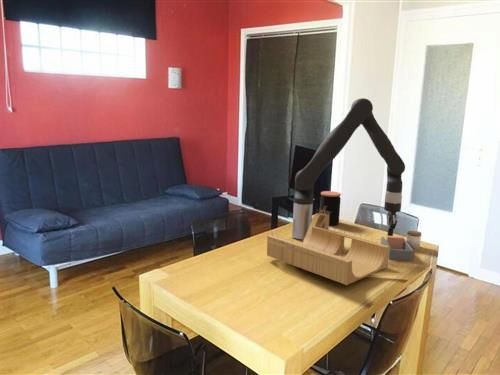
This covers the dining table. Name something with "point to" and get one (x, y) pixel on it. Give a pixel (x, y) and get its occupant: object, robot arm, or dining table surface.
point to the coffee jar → (331, 206)
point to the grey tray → (400, 251)
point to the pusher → (395, 242)
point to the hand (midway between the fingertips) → (390, 236)
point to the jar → (414, 239)
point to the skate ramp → (330, 252)
